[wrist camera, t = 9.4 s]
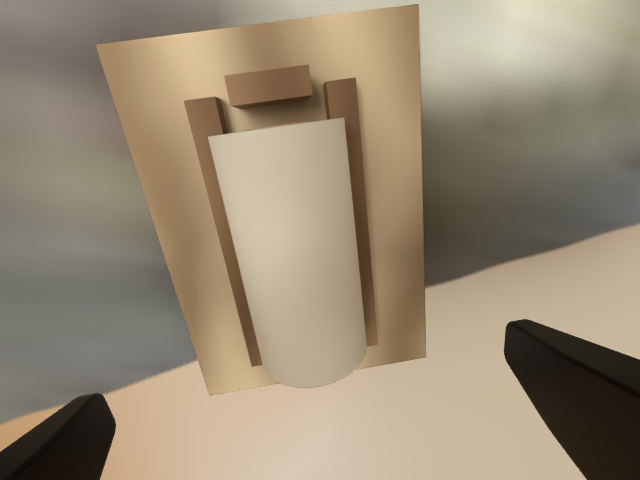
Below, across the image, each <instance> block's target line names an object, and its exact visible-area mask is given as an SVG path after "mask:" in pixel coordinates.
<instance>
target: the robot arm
mask: <svg viewBox="0 0 640 480" xmlns="http://www.w3.org/2000/svg"><path fill="white" fill-rule="evenodd" d="M504 355H505V359H506V361H507V363H508V365H509V366H510V368H511V370H512V371H513V373H514V374H515V376H516V378H517V379H518V381H519V382H520V384H521V385H522V387H523V389H524V390H525V392H526V394H527V395H528V397H529V398H530V400H531V402H532V403H533V405H534V406H535V408H536V410H537V411H538V413H539V414H540V416H541V418H542V419H543V421H544V422H545V424H546V425H547V427H548V428H549V429H550V431H551V432H552V434H553V435H554V436H555V438H556V439H557V440H558V442H559V443H560V445H561V446H562V447H563V449H564V450H565V451H566V452H567V454H568V455H569V456H570V458H571V459H572V460H573V462H574V463H575V464H576V466H577V467H578V468H579V469H580V471H581V472H582V474H583V475H584V476H585V478H586V479H587V480H640V360H639V359H636V358H633V357H631V356H628V355H625V354H622V353H620V352H617V351H614V350H611V349H608V348H606V347H603V346H600V345H597V344H595V343H592V342H589V341H586V340H583V339H581V338H578V337H575V336H572V335H570V334H567V333H564V332H561V331H558V330H555V329H553V328H550V327H547V326H544V325H542V324H539V323H536V322H533V321H531V320H527V319H523V320H517V321H511V322H509V323H508V324H507V326H506V332H505V345H504ZM115 429H116V423H115V419H114V417H113V415H112V413H111V410H110V408H109V406H108V404H107V402H106V400H105V398H104V396H103V395H102V394H100V393H94V394H88V395H82V396H79V397H77V398H75V399H74V400H72V401H71V402H70V403H68V404H67V405H65V406H64V407H63V408H61V409H60V410H58V411H57V412H56V413H54V414H53V415H52V416H50V417H49V418H47V419H46V420H44V421H43V422H42V423H40V424H39V425H37V426H36V427H34V428H33V429H32V430H31V431H29V432H28V433H26V434H25V435H23V436H22V437H20V438H19V439H18V440H17V441H15V442H14V443H12V444H11V445H10V446H8V447H7V448H5V449H4V450H2V451H1V452H0V480H100V477H101V474H102V471H103V468H104V465H105V462H106V459H107V456H108V452H109V450H110V447H111V443H112V440H113V437H114V434H115Z"/></svg>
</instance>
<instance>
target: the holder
mask: <svg viewBox="0 0 640 480" xmlns="http://www.w3.org/2000/svg"><path fill="white" fill-rule="evenodd" d="M96 48H97V51H98V54H99V57H100V61H101V64H102V67H103V70H104V73H105V76H106V79H107V82H108V85H109V88H110V91H111V94H112V97H113V100H114V104H115V107H116V110H117V113H118V116H119V119H120V122H121V125H122V128H123V131H124V134H125V137H126V140H127V144H128V147H129V150H130V153H131V156H132V159H133V162H134V165H135V168H136V171H137V174H138V177H139V180H140V183H141V187H142V190H143V193H144V196H145V199H146V202H147V205H148V208H149V211H150V214H151V217H152V220H153V223H154V226H155V230H156V233H157V236H158V239H159V242H160V245H161V248H162V251H163V254H164V257H165V260H166V263H167V266H168V269H169V273H170V276H171V279H172V282H173V285H174V288H175V291H176V294H177V297H178V300H179V303H180V306H181V309H182V312H183V316H184V319H185V322H186V325H187V328H188V331H189V334H190V337H191V340H192V343H193V346H194V349H195V352H196V356H197V359H198V362H199V365H200V368H201V371H202V374H203V377H204V380H205V383H206V386H207V389H208V392H209V395H210V396H211V395H217V394H222V393H228V392H234V391H239V390H244V389H251V388H256V387H262V386H266V385H273V384H278V383H279V382H277V381H275V380H274V379H272V378H271V377H270V376H269V375H268V374H267V372H266V371H265V369H264V367H263V364H262V360H261V356H260V352H259V347H258V343H257V339H256V335H255V331H254V327H253V323H252V318H251V314H250V310H249V306H248V302H247V298H246V293H245V289H244V285H243V281H242V277H241V273H240V269H239V264H238V260H237V256H236V252H235V248H234V244H233V240H232V235H231V231H230V227H229V223H228V219H227V215H226V210H225V206H224V202H223V198H222V194H221V190H220V186H219V181H218V177H217V173H216V169H215V165H214V161H213V156H212V152H211V148H210V144H209V140H208V137H209V136H216V135H223V134H229V133H236V132H243V131H244V130H249V129H256V128H263V127H270V126H277V125H284V124H291V123H298V122H305V121H309V122H314V121H322V120H329V119H336V118H344V120H345V130H346V140H347V150H348V160H349V171H350V181H351V191H352V201H353V211H354V221H355V231H356V241H357V251H358V261H359V272H360V282H361V292H362V302H363V312H364V322H365V332H366V342H367V349H366V354H365V357H364V359H363V360H362V362H361V363H360V365H359V366H358V367H357V368H356V369H355V370H357V369H362V368H369V367H374V366H380V365H385V364H391V363H397V362H402V361H407V360H413V359H419V358H425V357H426V327H425V326H426V325H425V279H424V233H423V187H422V141H421V95H420V50H419V4H415V5H407V6H399V7H391V8H383V9H375V10H367V11H359V12H351V13H343V14H335V15H327V16H319V17H311V18H303V19H295V20H287V21H279V22H271V23H264V24H256V25H248V26H240V27H232V28H224V29H216V30H208V31H200V32H192V33H184V34H176V35H168V36H160V37H152V38H144V39H136V40H128V41H120V42H113V43H105V44H97V45H96Z"/></svg>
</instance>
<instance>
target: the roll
mask: <svg viewBox="0 0 640 480" xmlns="http://www.w3.org/2000/svg"><path fill="white" fill-rule="evenodd" d="M208 140H209V144H210V148H211V152H212V156H213V161H214V165H215V169H216V173H217V177H218V181H219V186H220V190H221V194H222V198H223V202H224V206H225V210H226V215H227V219H228V223H229V227H230V231H231V235H232V240H233V244H234V248H235V252H236V256H237V260H238V264H239V269H240V273H241V277H242V281H243V285H244V289H245V293H246V298H247V302H248V306H249V310H250V314H251V318H252V323H253V327H254V331H255V335H256V339H257V343H258V347H259V352H260V356H261V360H262V364H263V367H264V369H265V371H266V372H267V374H268V375H269V376H270V377H271V378H272V379H274V380H275V381H277V382H279V383H281V384H284V385H287V386H291V387H297V388H313V387H320V386H324V385H328V384H331V383H334V382H336V381H338V380H341V379H343V378H344V377H346V376H348V375H349V374H350V373H352V372H353V371H354V370H355V369H356V368H357V367H358V366H359V365H360V363H361V362H362V360H363V359H364V357H365V354H366V349H367V342H366V332H365V322H364V312H363V302H362V292H361V282H360V272H359V261H358V251H357V241H356V231H355V221H354V211H353V201H352V191H351V181H350V171H349V160H348V150H347V140H346V130H345V120H344V118H336V119H329V120H322V121H314V122H309V121H305V122H298V123H291V124H284V125H277V126H270V127H263V128H256V129H249V130H244V131H243V132H236V133H229V134H223V135H216V136H209V137H208Z"/></svg>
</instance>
